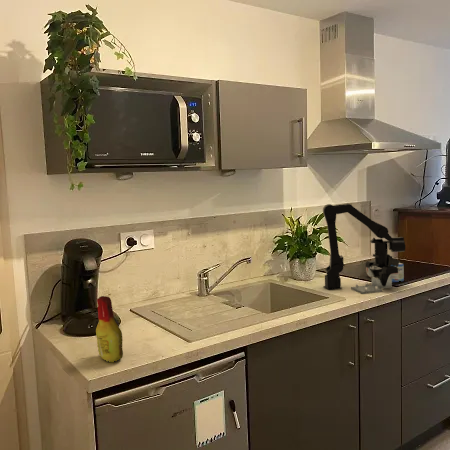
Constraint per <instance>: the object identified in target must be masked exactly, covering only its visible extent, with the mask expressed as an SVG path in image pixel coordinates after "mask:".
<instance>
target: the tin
mask: <svg viewBox="0 0 450 450" xmlns="http://www.w3.org/2000/svg"><path fill="white" fill-rule="evenodd" d="M364 269H365V273H366V275H367V276H368V277H369V278H370V279H372V278H373V277H374V276H373V274H372V272H371V270H370V269H371V267H370V268H367V267H366V265H365V268H364Z"/></svg>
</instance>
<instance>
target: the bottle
mask: <svg viewBox="0 0 450 450" xmlns="http://www.w3.org/2000/svg"><path fill="white" fill-rule="evenodd" d="M96 302H97V313H98V315H97V317H98V323H97V326H96V329H95V333H96V334H95V335H96V345H97V347H96V348H97V349H98V350H97V352H98V355H99V357H100V358H101V359H102V360H104V361H105V360H106V361H105V362H108V361H109V363H115V362H114V361H116V362H118V361H120V360H121V359H122V358H123V357H124V351H123V350H124V349H123V341H124V340H123V333H122V330H121V328H120V326H119V324H118V323H117V322H116V321H115V317H114V310H113V304H112V300H111V298H110V296H107V295H101V296H99V297H98V298H97V299H96ZM119 359H120V360H119ZM117 360H118V361H117Z"/></svg>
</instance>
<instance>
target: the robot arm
mask: <svg viewBox="0 0 450 450" xmlns="http://www.w3.org/2000/svg"><path fill="white" fill-rule="evenodd" d="M322 213H323V216H324V219H325V222H326V225H327V227H326V228H327V235H328V243H329V251H330V252H329V253H330V254H329V263H328V264H329V265H328V266H327V267H326V268H325V270H324V271H325V273H326V274H325V275H324V285H323V288H324V289H327V290H329V291H331V290H332V291H333V290H342V288H343V287H342V286H341V285H342V283H341V281H342V280H341V279H342V278H341V276H340V273H342V272H343V270H344V267H345V264H344V257H343V255H340V252H339V244H338V243H339V242H338V235H337V228H336V223H337V222H336V221H337V215H341V214H346V213H348V214H349V215H350V216H352V217H353V218H355V219H357V220H358V221H359V222H360V223H362V224H363V225H364V226H366V227H367V228H368V229H369V231H370V232H371V233H372V234H373V235H374V236H375V237H373V238H371V240H370V241H369V242H370V243H371V244H374V253H372V257H374V260H367V261H366V262H365V266H366V267H367V268H370V267H371V269H370V270H371V272H372V274H373V276H374V277H377V276H380V278H381V282H382V285H383V286H386V283H387V280H388V277H389V275H390V274H394V273H398V268H397V267H398V265H399V263H401V262H400V259H399V260H398V259H395V258H393V256H392V255H390V254H389V253H388V252H389V251H390V252H391V253H402V252H403V253H404V252H406V243H405V237H403V236H399V237H392V236H391V235H390V233H389V229H388V228H387V227H386V226H384V225H382V224H381V223H378V222H376V221H374V220H373V219H371V218H369V217H368V216H367V215H365V214H364V213H362V212H361V211H360V210H359V209H357V208H356V207H355V206H353V205H352V204H351V203H349V202H348V203H344V204H343V203H342V204H335V205H333V204H330V203H328V204H327V203H326V204H325V205H324V206H323V208H322ZM376 237H377V238H376ZM383 239H385V240H383ZM388 250H389V251H388ZM391 265H393V266H391ZM395 266H396V267H395Z"/></svg>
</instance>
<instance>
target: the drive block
mask: <svg viewBox="0 0 450 450" xmlns="http://www.w3.org/2000/svg"><path fill="white" fill-rule="evenodd" d="M392 283H393V282H392V278H391V277H388V280H387V283H386V286H383V285H382V282H381V278H380V276H377V277H373V278H371V285H372V286H377V288H380V289H382V290H383V289H390V288H392V287H393V284H392Z"/></svg>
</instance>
